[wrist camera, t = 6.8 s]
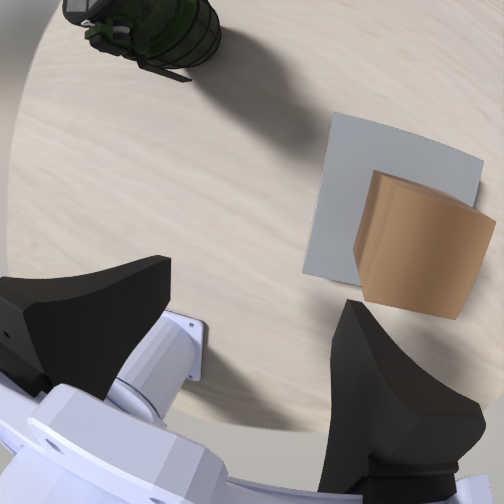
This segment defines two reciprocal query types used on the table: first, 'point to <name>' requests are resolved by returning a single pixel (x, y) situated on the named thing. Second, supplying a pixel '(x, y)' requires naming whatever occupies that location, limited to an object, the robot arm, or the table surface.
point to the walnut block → (419, 247)
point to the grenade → (150, 31)
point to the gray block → (358, 182)
